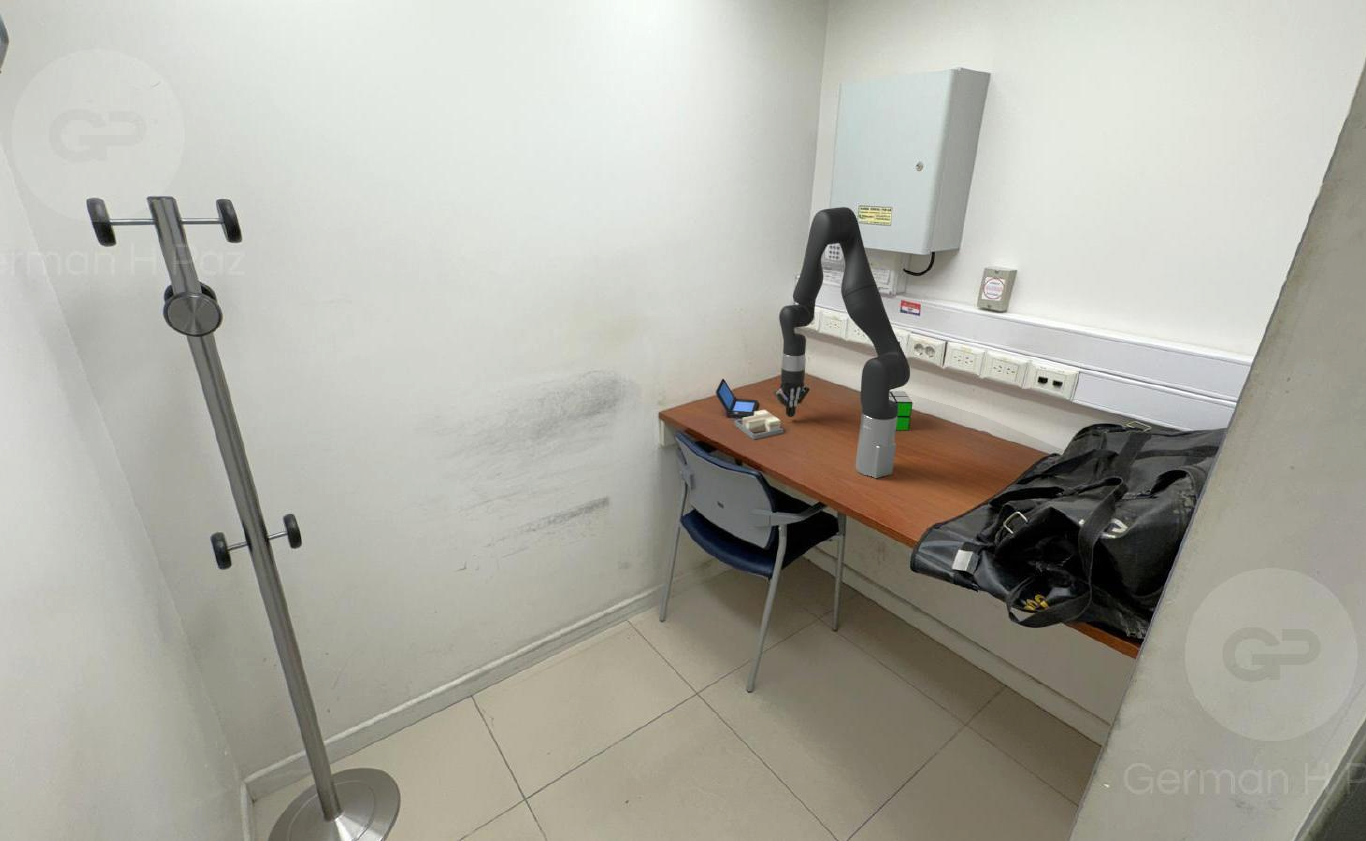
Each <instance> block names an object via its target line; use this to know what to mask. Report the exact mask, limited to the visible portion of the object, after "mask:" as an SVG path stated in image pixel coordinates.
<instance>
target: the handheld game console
mask: <svg viewBox="0 0 1366 841" xmlns="http://www.w3.org/2000/svg"><path fill="white" fill-rule="evenodd" d="M715 395H716V398H718V400H719V402H720V403H721V405H722V407H723V408H724V410H725V412H726V417H727V418H734V419H735V418H737V419H743V418H744V417H749V416H754V411H757V409H758V406H759V401H758V400H757V399H749V398H748V399H747V398H737V396H735V394H734V393H733V391H732V389H731V388H730V386H729V385H728V383H727V381H726V380H725V379H724V378H722V379H721V380H720V382H719V385H718V386H717V388H716V390H715Z"/></svg>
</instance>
